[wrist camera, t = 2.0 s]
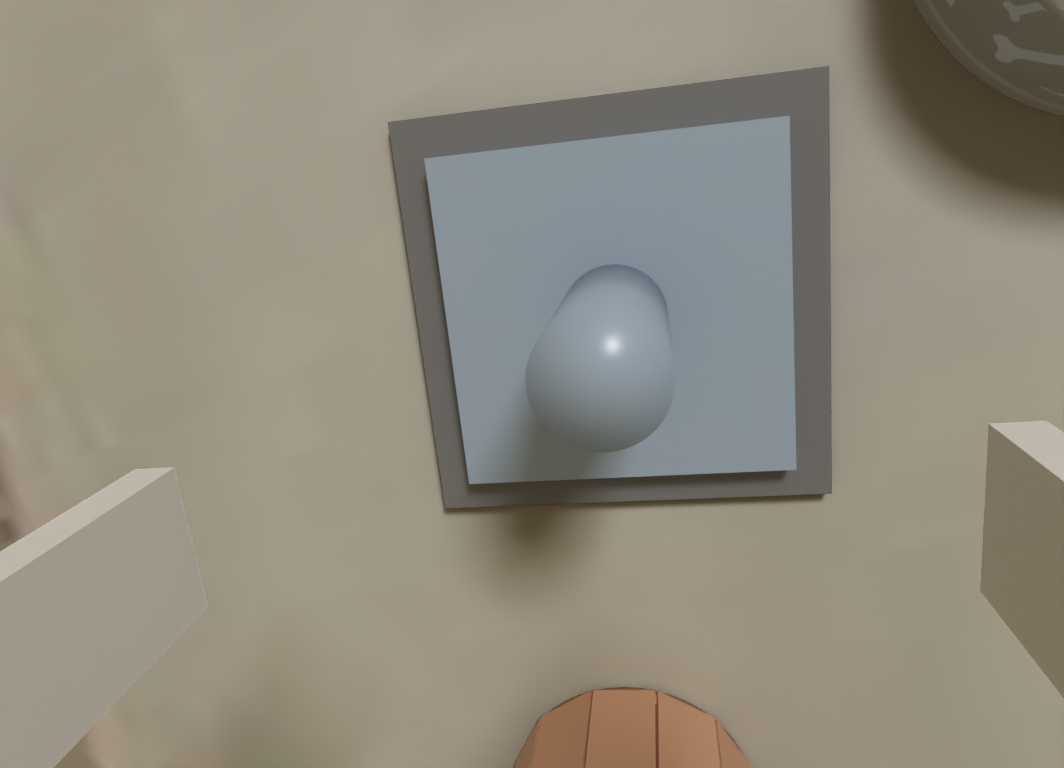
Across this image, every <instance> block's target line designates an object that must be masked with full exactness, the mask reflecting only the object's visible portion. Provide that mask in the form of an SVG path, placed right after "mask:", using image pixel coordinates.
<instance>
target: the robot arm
mask: <svg viewBox="0 0 1064 768" xmlns="http://www.w3.org/2000/svg"><path fill="white" fill-rule="evenodd" d="M980 591H981V592H982V594H983V595H984V596H985V597H986V599H987V600H988V601H989V603H990V604H991V605H992V606H993V608H994V609H995V610H996V612H997V613H998V614H999V615H1000V617H1001V618H1002V619H1003V621H1004V622H1005V623H1006V624H1007V626H1008V627H1009V628H1010V630H1011V631H1012V632H1013V633H1014V635H1015V636H1016V637H1017V639H1018V640H1019V641H1020V642H1021V644H1022V645H1023V646H1024V648H1025V649H1026V650H1027V651H1028V653H1029V654H1030V655H1031V657H1032V658H1033V659H1034V660H1035V662H1036V663H1037V664H1038V666H1039V667H1040V668H1041V669H1042V671H1043V672H1044V673H1045V675H1046V676H1047V677H1048V678H1049V680H1050V681H1051V682H1052V684H1053V685H1054V686H1055V687H1056V689H1057V690H1058V691H1059V693H1060V694H1061V695H1062V696H1063V698H1064V432H1062V431H1061V430H1059V429H1058V428H1056V427H1055V426H1053V425H1052V424H1050V423H1048V422H1047V421H1032V422H1014V423H995V424H989V430H988V450H987V469H986V489H985V509H984V528H983V548H982V568H981V587H980ZM208 608H209V606H208V602H207V598H206V594H205V590H204V586H203V581H202V577H201V573H200V569H199V565H198V561H197V557H196V553H195V549H194V545H193V541H192V537H191V533H190V529H189V525H188V521H187V517H186V513H185V508H184V504H183V500H182V496H181V492H180V488H179V484H178V480H177V476H176V472H175V468H174V467H172V468H153V469H135V470H133V471H131V472H130V473H128V474H126V475H125V476H123V477H122V478H120V479H118V480H117V481H115V482H113V483H112V484H110V485H108V486H107V487H105V488H104V489H102V490H100V491H99V492H97V493H95V494H94V495H92V496H90V497H89V498H87V499H86V500H84V501H82V502H81V503H79V504H77V505H76V506H74V507H72V508H71V509H69V510H68V511H66V512H64V513H63V514H61V515H59V516H58V517H56V518H54V519H53V520H51V521H50V522H48V523H46V524H45V525H43V526H41V527H40V528H38V529H37V530H35V531H33V532H32V533H30V534H28V535H27V536H25V537H23V538H22V539H20V540H19V541H17V542H15V543H14V544H12V545H10V546H9V547H7V548H5V549H4V550H2V551H1V552H0V768H53V767H54V766H55V765H56V764H57V763H58V762H59V761H60V760H61V759H62V758H63V757H64V756H65V755H66V754H67V753H68V752H69V751H70V750H71V749H72V748H73V747H74V746H75V745H76V744H77V743H78V742H79V741H80V740H81V739H82V738H83V737H84V736H85V734H86V733H87V732H88V731H89V730H90V729H91V728H92V727H93V726H94V725H95V724H96V723H97V722H98V721H99V720H100V719H101V718H102V717H103V716H104V715H105V714H106V713H107V712H108V711H109V710H110V709H111V708H112V707H113V706H114V705H115V704H116V702H117V701H118V700H119V699H120V698H121V697H122V696H123V695H124V694H125V693H126V692H127V691H128V690H129V689H130V688H131V687H132V686H133V685H134V684H135V683H136V682H137V681H138V680H139V679H140V678H141V677H142V676H143V675H144V674H145V673H146V672H147V670H148V669H149V668H150V667H151V666H152V665H153V664H154V663H155V662H156V661H157V660H158V659H159V658H160V657H161V656H162V655H163V654H164V653H165V652H166V651H167V650H168V649H169V648H170V647H171V646H172V645H173V644H174V643H175V642H176V641H177V640H178V638H179V637H180V636H181V635H182V634H183V633H184V632H185V631H186V630H187V629H188V628H189V627H190V626H191V625H192V624H193V623H194V622H195V621H196V620H197V619H198V618H199V617H200V616H201V615H202V614H203V613H204V612H205V611H206V610H207V609H208Z"/></svg>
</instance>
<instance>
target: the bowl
mask: <svg viewBox="0 0 1064 768" xmlns="http://www.w3.org/2000/svg"><path fill="white" fill-rule="evenodd" d="M515 768H751V765H750V763H749V762H748V761H747V759H746V758H745V757H744V755H743V754H742V752H741V750H740V749H739V747H738V746H737V744H736V743H735V741H734V739H733V738H732V737H731V736H730V735H729V733H728V732H727V731H726V730H725V729H724V728H723V727H722V726H721V724H720V723H719V722H718V720H715V719H714V717H712V716H710V715H708V714H706V713H705V712H704V711H702V710H701V709H699V708H697V707H696V706H694V705H692V704H690V703H688V702H686V701H684V700H682V699H679V698H677V697H674V696H672V695H669V694H665V693H662V692H659V691H655V690H648V689H642V688H628V687H620V688H606V689H600V690H593V691H589V692H587V693H584V694H581V695H578V696H576V697H573V698H571V699H569V700H567V701H565V702H563V703H562V704H560V705H558V706H557V707H555V708H554V709H552V710H551V711H550V712H548V713H547V714H545V715H543V716H541V718H539V720H538V722H537V724H536V725H535V727H534V729H533V730H532V732H531V733H530V735H529V736H528V738H527V741H526V743H525V745H524V747H523V749H522V751H521V753H520V754H519V756H518V758H517V760H516V764H515Z"/></svg>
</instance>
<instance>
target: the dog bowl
mask: <svg viewBox="0 0 1064 768" xmlns="http://www.w3.org/2000/svg"><path fill="white" fill-rule="evenodd" d="M913 1H914V3H915V5H916V6H917V8H918V10H919V12H920V14H921V16H922V17H923V19H924V20H925V22H926V23H927V25H928V26H929V28H930V29H931V30H932V32H933V33H934V35H935V36H936V37H937V39H938V40H939V41H940V42H941V43H942V44H943V46H944V47H945V48H946V49H947V50H948V52H949V53H950V54H951V55H952V56H953V57H954V58H955V59H956V60H957V61H958V62H959V63H960V64H961V65H963V66H964V67H965V68H966V69H967V70H968V71H970V72H971V73H972V74H973V75H975V76H976V77H977V78H979V79H980V80H981V81H983V82H984V83H986V84H987V85H989V86H990V87H992V88H993V89H995V90H997V91H999V92H1000V93H1002V94H1004V95H1006V96H1008V97H1010V98H1012V99H1014V100H1016V101H1018V102H1021V103H1023V104H1025V105H1028V106H1030V107H1033V108H1036V109H1039V110H1042V111H1045V112H1048V113H1052V114H1056V115H1060V116H1064V0H913Z"/></svg>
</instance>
